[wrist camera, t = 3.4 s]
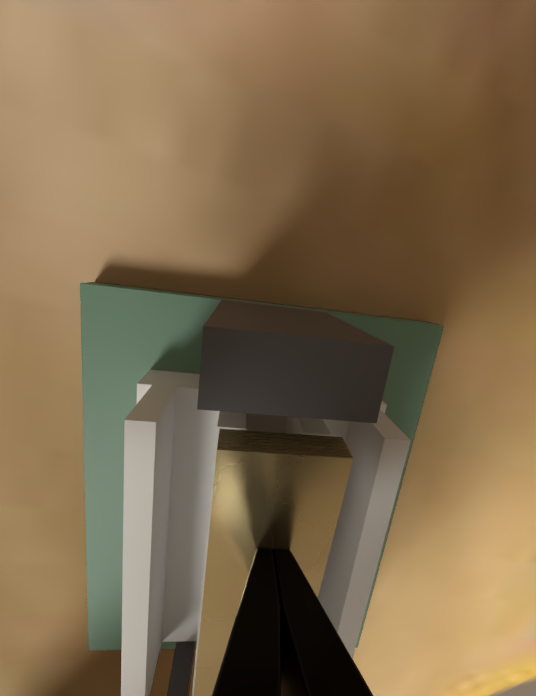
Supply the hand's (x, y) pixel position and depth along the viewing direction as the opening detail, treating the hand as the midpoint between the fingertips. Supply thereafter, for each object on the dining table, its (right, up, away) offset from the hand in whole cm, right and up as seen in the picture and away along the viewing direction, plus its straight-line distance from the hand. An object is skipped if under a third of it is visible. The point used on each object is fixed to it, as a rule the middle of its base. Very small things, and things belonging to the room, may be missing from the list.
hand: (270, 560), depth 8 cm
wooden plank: (-1, -3, +2) cm, 4 cm away
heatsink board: (-1, -1, +7) cm, 7 cm away
